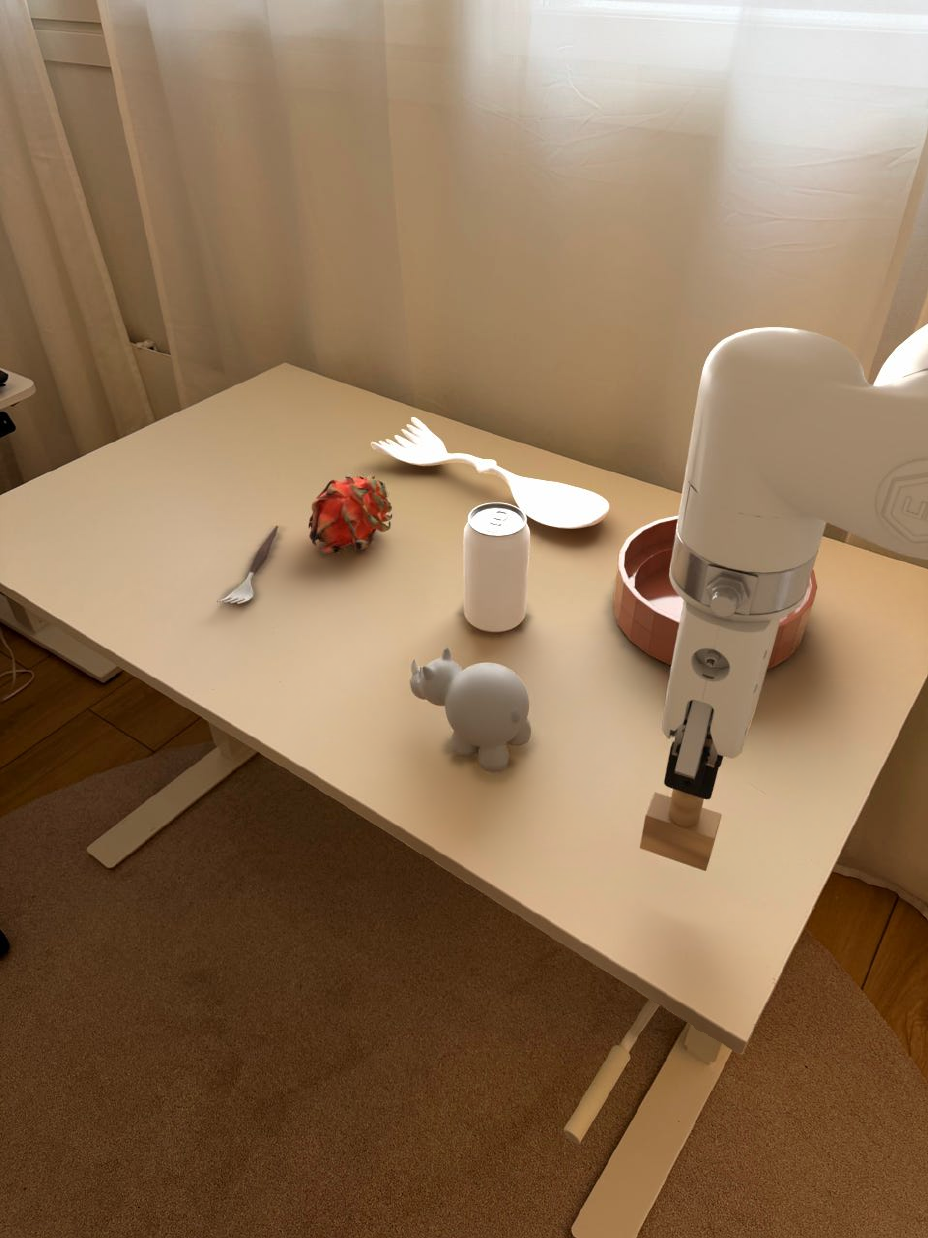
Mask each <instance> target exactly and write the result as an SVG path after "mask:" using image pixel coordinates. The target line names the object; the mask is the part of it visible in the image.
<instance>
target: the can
mask: <svg viewBox="0 0 928 1238" xmlns="http://www.w3.org/2000/svg"><path fill="white" fill-rule="evenodd" d="M462 539H463V540H462V541H463V542H462V543H463V545H462V547H463V549H462V551H463V558H462V559H463V561H462V562H463V563H462V564H463V566H462V567H463V568H462V569H463V571H462V573H463V574H462V575H463V584H462V585H463V614H464V617H465V619H466V621H467V622H468V623H469V624H470V625H472V626H473V627H474V628H476V629H477V630H478V631H479V630H480V631H482V632H487V633H494V634H495V633H496V634H497V633H505V632H508V631H511V630H513V629H514V628H516V627H518V626H519V625H520V624H521V623H522V622H523V621H524V619H525V617H526V612H527V599H528V584H529V563H530V549H531V548H530V547H531V546H530V545H531V544H530V543H531V531H530V527H529V526H528V523H527V515H526V514H525V513H524V512H523V511H522V510H521V509H520V507H517V506H515V505H513V504H510V503H505V502H488V503H484V504H480V505H477V506H476V507H474V508H472V509H471V511H469V513H468V515H467V522H466V524H465V526H464V529H463V537H462Z"/></svg>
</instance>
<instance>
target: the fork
mask: <svg viewBox="0 0 928 1238" xmlns="http://www.w3.org/2000/svg"><path fill="white" fill-rule="evenodd" d="M278 529H279V525H275V526H274V528H273V529H272V531H271V532H270V534H269V535H268V536H267V538H266V539H265V541H264V542H263V543H262V545H261V546H260V548H259V549H258V550H257V552H256V555H255V556H254V559H253V561H252V565H251V567H250V570H249V573H248V575H247V577H246V578H245V580H244V581H243V582H242V583H241V584H239V585H238V586H237V587H236V588H235V589H233V590H232V591H231V592H230V593H229V594H228V595H227V596H226V597H224V598H222V599H218V600H216V602H217V603H221V602H223V603H224V604H226V603H229V604H235V603H236V605H241V604H243V603H244V604H245V603H247V602H249V601H250V600H252V599H253V598H254V595H255V594H254V589H253V585H252V583H251V580H252V578H253V576H254V575H255V574H256V572H257V571H258V570H259V569H260V567H261V565H262V564H263V563H264V561H265V560H266V559H267V557H268V555H269V552H270V550H271V547H272V544H273V541H274V539H275V536H276V534H277V531H278Z"/></svg>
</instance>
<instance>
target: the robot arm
mask: <svg viewBox="0 0 928 1238" xmlns="http://www.w3.org/2000/svg"><path fill="white" fill-rule="evenodd" d="M693 416H694V417H693V423H692V427H691V435H690V442H689V447H688V453H687V459H686V465H685V472H684V478H683V484H682V491H681V497H680V503H679V509H678V515H677V516H678V522H677V527H676V533H675V540H674V546H673V552H672V558H671V564H670V571H669V577H670V582H671V584H672V586H673V588H674V590H675V591H676V592H677V594H678V595H679V596H680V597H681V598H682V599H683V600H684V603H683V607H682V612H681V618H680V623H679V628H678V631H677V638H676V643H675V648H674V654H673V659H672V665H670V670H669V677H668V682H667V688H666V696H665V700H664V706H663V707H664V708H663V715H662V724H661V730H662V733H663V735H664V736H665V737H666V739H667V740H670V739H671V738H674V740H673V741H672V742H671V745H670V749H669V753H668V754H669V755H668V760H667V763H666V764H667V765H666V769H665V775H664V780H663V784H664V786H665V787H667V788H669V789H672V790H673V789H675V790H678V791H681V792H683V793H686V794H690V795H693V796H696V797H700V798H703V799H704V800H711V799H712V797H713V796H712V795H713V793H714V789H715V786H716V785H715V784H716V781H717V777H718V773H719V768H720V767H722V763H723V760H724V757H725V758H729V759H736V758H737V757H739V756H740V755H741V754H742V753H743V750H744V748H745V745H746V742H747V740H748V739H747V738H748V735H749V732H750V728H751V725H752V721H753V720H754V719H753V718H754V715H755V711H756V708H757V706H758V703H759V699H760V695H761V692H762V689H763V685H764V681H765V678H766V674H767V670H768V669H767V667H768V664H769V660H770V657H771V653H772V649H773V646H774V642H775V638H776V634H777V631H778V626H779V622H780V618H782V617H784V616H787V615H788V614H790V613H792V612H793V611H794V610H796V609H797V608H798V607H799V606H800V605H801V603H802V602H803V600H804V598H805V594H806V591H807V587H808V584H809V580H810V577H811V574H812V570H814V567H815V563H816V559H817V556H818V553H819V549H820V547H821V543H822V540H823V536H824V533H825V529H826V526H827V524H829V525H832V526H834V527H836V528H838V529H841V530H843V531H845V532H846V533H849V534H851V535H853V536H856V537H857V538H860V539H861V540H864V541H865V542H868V543H870V544H873V545H875V546H878V547H880V548H881V549H884V550H887V551H890V552H893V553H896V554H899V555H902V556H905V557H910V558H915V559H919V560H924V561H928V323H927V324H926V325H924V326H923V327H921V328H920V329H918V330H916V331H915V332H914V333H912V334H911V335H910V336H909V337H908V338H907V339H906V340H904V341H903V342H902V343H901V344H899V345H898V346H897V347H896V348H895V349H894V350H893V352H892V353H891V354H890V355H889V357H888V358H887V359H886V361H885V362H884V363H883V364H882V366H881V368H880V370H879V373H878V374H877V376H876V378H875V380H874V382H873V384H871V383H869V382H868V380H867V379H866V377H865V372H864V367H863V365H862V363H861V361H860V359H859V358H858V356H857V355H856V354H855V353H854V352H853V351H852V350H851V349H850V348H849V347H848V346H846V345H845V344H844V343H842V342H840V341H838V340H837V339H834V338H832V337H830V336H827V335H825V334H821V333H817V332H815V331H810V330H805V329H798V328H793V327H792V328H790V327H773V326H772V327H760V328H759V327H758V328H751V329H746V330H743V331H740V332H736V333H734V334H732V335H730V336H728V337H726V338H724V339H722V340H721V341H720V342H719V343H717V345H716V346H715V347H714V348H713V349H712V350H711V351H710V353H709V355H708V356H707V358H706V360H705V362H704V365H703V367H702V371H701V375H700V380H699V385H698V392H697V397H696V404H695V411H694V415H693ZM706 738H707V739H710V740H712V741H711V745H710V746H707V745H704V743H705V739H706Z"/></svg>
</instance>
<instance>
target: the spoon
mask: <svg viewBox="0 0 928 1238" xmlns="http://www.w3.org/2000/svg"><path fill="white" fill-rule="evenodd" d="M410 422H411V423H412V424H413V425H414V426H413V425H411V424H408V423H406V425H405V426H406V427H407V429H408V430H409V431H410V432H409V431H408V430H406V429H403V428H401V432H402V434H403V435H404V436H405V437H406V438H407V439H408V440H407V439H406V438H404V437H401V436H400V435H398V434H396V435H393V437H394V439H395V441H396V442H397V443H396V442H395V441H393V440H391V439H388V438H385V441H386V442H385V441H382V440H379V441H378V443H377V442H375V441H371V442H370V446H371V447H372V449H373V450H375V451H376V452H378V453H379V454H382V455H385V456H387V457H391V458H394V459H396V460H399V461H401V462H403V463H406V464H410V465H414V466H418V467H419V466H420V467H433V466H434V467H435V466H440V465H446V464H451V463H461V464H465V465H468V466H471V467H473V468H475V469H476V471H477V473H479V474H482V475H485V474H492V475H495V476H497V477H499V478H500V479H502V480H503V481H504V482H505V483H506V484H507V485H508V487H509V489H510V491H511V494H512V496H513V500H514V501H515V503H516V505H517V506H518V508H519V509H520V510H522V511H523V512H524V514H525V515H526V516H527V517H528V518H530V519H531V520H534V521H535V522H537V523H539V524H542V525H545V526H548V527H552V528H556V529H557V528H558V529H568V530H569V529H582V528H587V527H593V526H595V525H596V524H599V523H600V522H602V521H603V520H604V519H605V518H606V516H607V515H608V513H609V511H610V503H609V502H608V500H607V499H605V498H604V497H603V496H601V495H600V494H597V493H596V492H593V491H592V490H591V491H590V490H587V489H584V488H582V487H581V488H580V487H576V486H573V485H569V484H565V483H563V482H557V481H548V480H542V479H536V478H530V477H524V476H520V475H517V474H515V473H512V472H510V471H508V470H507V469H504V468H502V467H500V466H498V465H497V463H498V462H497V461H495V460H494V459H483V458H480V457H476V456H473V455H471V454H466V453H448V452H447V449H446V446H445V444H444V442H443V441H442V440H441V439H440V438H439V437H438V436H437V435H435V434H434V433H433V432H432V431H431V430H430V429H429V428H428V427H427V425H426V424H424V423H423V422H422V421H421V420H420V419H418V418H417V417H414V416H413V417H410Z"/></svg>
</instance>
